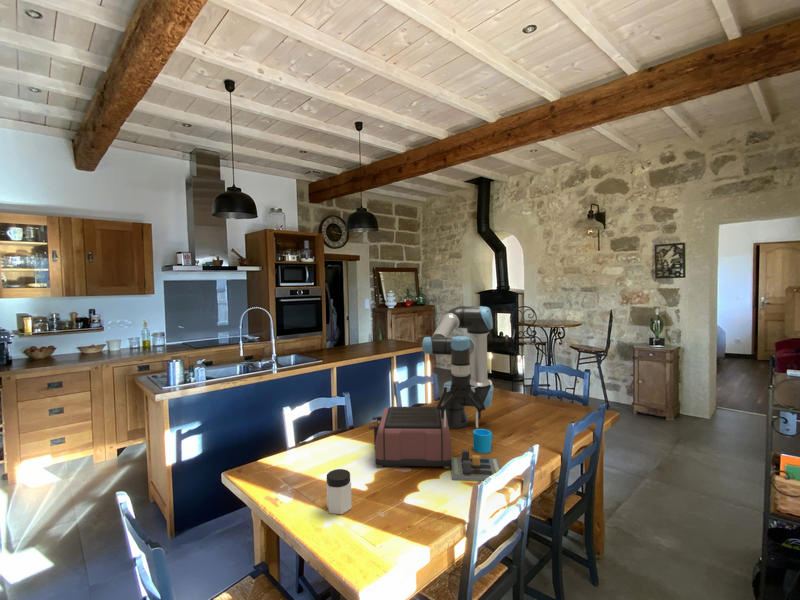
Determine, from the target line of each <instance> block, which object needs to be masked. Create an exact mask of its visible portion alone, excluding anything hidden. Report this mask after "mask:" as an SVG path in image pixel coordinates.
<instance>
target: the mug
mask: <svg viewBox="0 0 800 600" xmlns="http://www.w3.org/2000/svg"><path fill="white" fill-rule="evenodd" d="M472 433H473V434H472V436H473V437H472V441H473V442H472V444H473V445H472V446H473V447H472V448H473V451H474V452H475V453H479V454H489V453H491V452H492V442H493V439H494V437H493V436H494V435H493V433H492V432H491V430H489V429H485V428H476V429H474V430H473V431H472Z"/></svg>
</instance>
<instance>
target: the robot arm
mask: <svg viewBox="0 0 800 600" xmlns="http://www.w3.org/2000/svg"><path fill="white" fill-rule="evenodd" d="M493 326H494V325H493V315H492V310H491V308H490V307H488V306H482V305H471V306H470V305H469V306H467V305H466V306H465V305H464V306H463V305H461V306H455V307H453V308H451V309H449V310H447V311H446V312H445V313H444V314H443V315H442V316H441V318H440V323H439V324H438V326H437V328H436V329H435V331H434V333H432V335H431V336H424V337H423V339H422V343H421V347H422V352H423V353H424V354H426V355H437V356H438V355H439V356H440V355H442V356H450V357H451V364H450V366H451V367H450V369H451V371H450V372H451V375H450V376H451V377H450V379H451V380H449V381H446V382H444V383H443V385H442V386H443V387H442V389H443V390H442V392H441V393H442V394H441V396H440V398H439V400H438V403H437V404H436V407H437V409H438V410H441V418H443V419H444V427H446V416H447V420H448V426H449V429H462V428H463V429H464V428H466V427H468V426H469V419H468V415H467V412H466V407H473V408H475V427H476V429H479V420H481V418H482V411H485V410H486V409H487V408H490V407H491V405H492V401H493V396H494V385H492V384H491V381H490V380H489V379H488V335H489V334H490V333H491V330H492V329H493V328H494V327H493ZM457 329H466V332H467V334H468V335H469V337H468V336H465V335H457V336H456V335H455V336H453V337H452V335H453V334H454V331H455V330H457Z"/></svg>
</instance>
